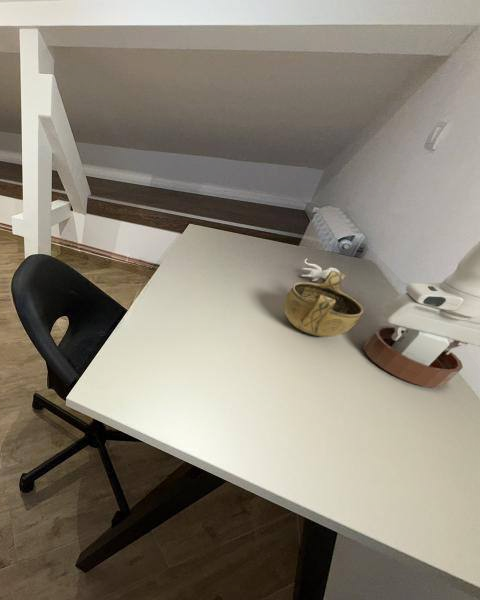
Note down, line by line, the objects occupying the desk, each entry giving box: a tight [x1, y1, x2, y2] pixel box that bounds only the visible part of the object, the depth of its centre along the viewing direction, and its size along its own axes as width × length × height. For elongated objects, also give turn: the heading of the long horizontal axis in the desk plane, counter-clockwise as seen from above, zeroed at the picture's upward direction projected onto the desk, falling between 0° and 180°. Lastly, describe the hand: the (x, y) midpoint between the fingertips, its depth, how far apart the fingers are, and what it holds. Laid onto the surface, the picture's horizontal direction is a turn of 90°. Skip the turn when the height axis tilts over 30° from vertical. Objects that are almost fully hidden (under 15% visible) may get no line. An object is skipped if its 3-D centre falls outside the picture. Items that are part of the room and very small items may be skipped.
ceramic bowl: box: [283, 271, 364, 338], centre depth 87 cm, size 22×17×15 cm
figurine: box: [300, 258, 341, 282], centre depth 117 cm, size 8×9×12 cm
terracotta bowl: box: [362, 325, 464, 389], centre depth 79 cm, size 17×17×6 cm
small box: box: [391, 328, 450, 366], centre depth 78 cm, size 8×6×10 cm
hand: (418, 345), depth 77 cm, fingers open, 8 cm apart
